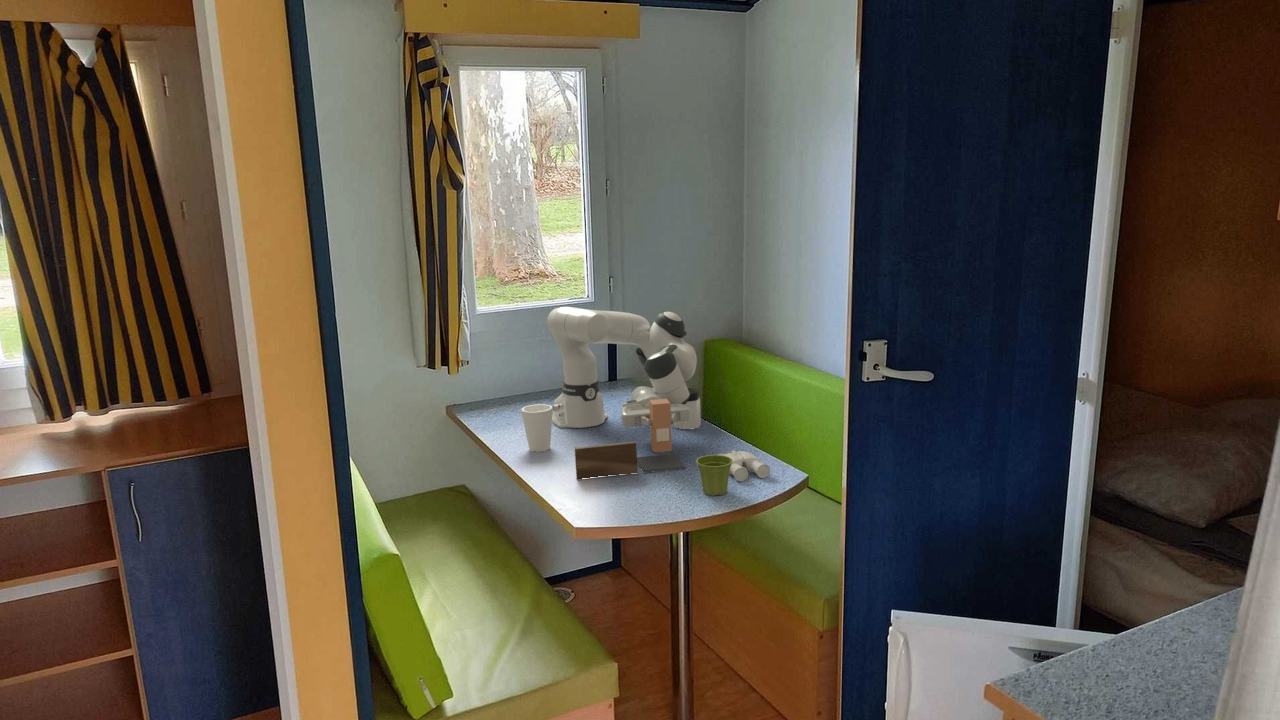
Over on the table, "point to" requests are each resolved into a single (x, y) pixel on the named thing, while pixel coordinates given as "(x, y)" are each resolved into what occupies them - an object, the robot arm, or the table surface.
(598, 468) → the low board
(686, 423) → the jar
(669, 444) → the marked block
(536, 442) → the foam cup
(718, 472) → the plant pot
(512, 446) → the table surface
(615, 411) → the table surface
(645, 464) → the slate pad
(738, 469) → the binoculars
